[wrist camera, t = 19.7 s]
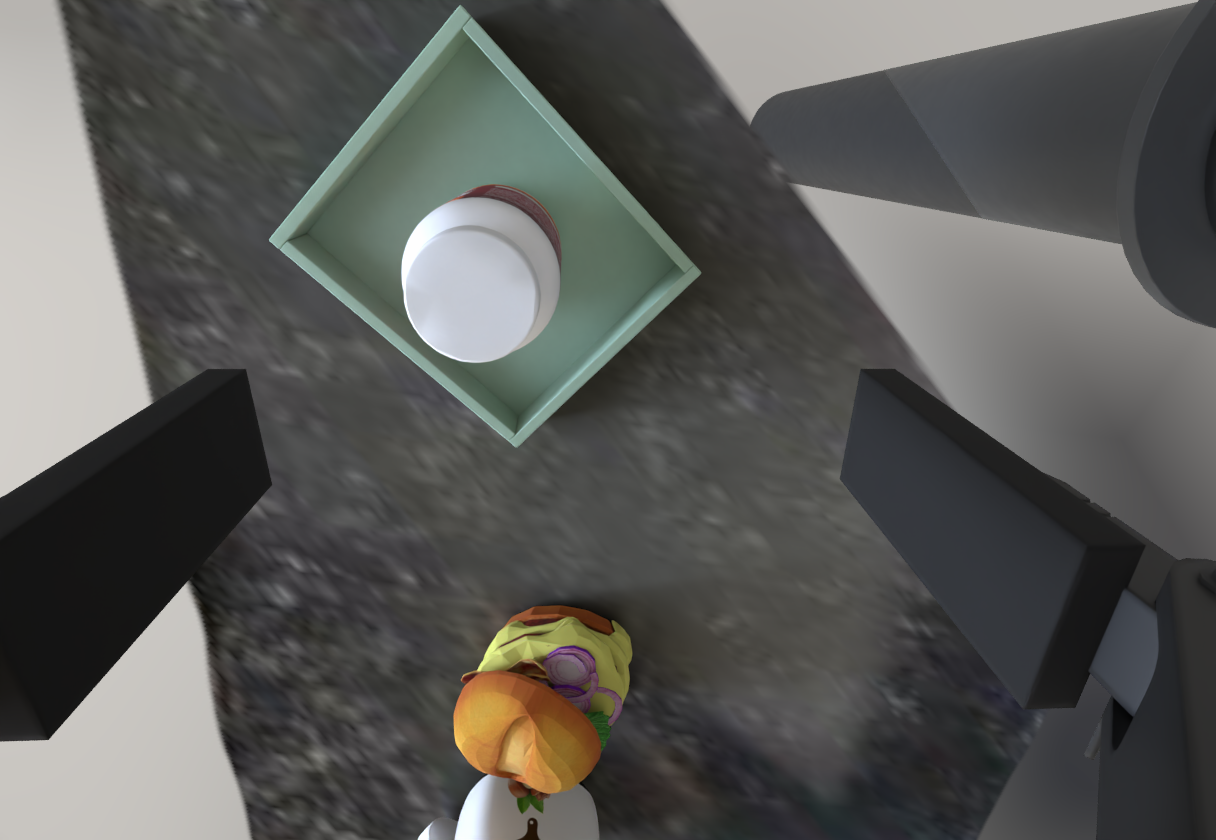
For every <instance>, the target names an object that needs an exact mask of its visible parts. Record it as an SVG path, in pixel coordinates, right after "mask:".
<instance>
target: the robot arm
mask: <svg viewBox="0 0 1216 840" xmlns="http://www.w3.org/2000/svg"><path fill="white" fill-rule="evenodd" d="M1204 185H1205V201H1206V208H1207V212H1208V216H1209V220H1210V222H1211V225H1212V227H1213V230H1214V232H1215V233H1216V129H1215V132H1214V135H1213V138H1212V141H1211V145H1210V149H1209V153H1208V157H1207V163H1206V170H1205V184H1204ZM840 480H841V481H842V482H843V484H844V485H845V486H846V487H847V489H848V490H849V491H850V492H851V494H852V495H853V496H854V497H855V499H856V500H857V501H858V502H859V504H860V505H861V506H862V507H863V509H864V510H865V511H866V512H867V514H868V515H869V516H870V517H871V519H872V520H873V521H874V522H875V524H876V525H877V526H878V527H879V529H880V530H881V531H882V533H883V534H884V535H885V536H886V538H887V539H888V540H889V541H890V543H891V544H892V545H893V546H894V548H895V549H896V550H897V551H898V553H899V554H900V555H901V556H902V558H903V559H904V560H905V561H906V563H907V564H908V565H909V566H910V568H911V569H912V570H913V571H914V573H915V574H916V575H917V576H918V578H919V579H920V580H921V581H922V583H923V584H924V585H925V586H926V588H927V589H928V590H929V592H930V593H931V594H932V595H933V597H934V598H935V599H936V600H937V602H938V603H939V604H940V605H941V607H942V608H943V609H944V610H945V612H946V613H947V614H948V615H949V617H950V618H951V619H952V620H953V622H954V623H955V624H956V625H957V627H958V628H959V629H960V630H961V632H962V633H963V634H964V635H965V637H966V638H967V639H968V640H969V642H970V643H971V644H972V646H973V647H974V648H975V649H976V651H977V652H978V653H979V654H980V656H981V657H982V658H983V659H984V661H985V662H986V663H987V664H988V666H989V667H990V668H991V669H992V671H993V672H994V673H995V674H996V676H997V677H998V678H999V679H1000V681H1001V682H1002V683H1003V684H1004V686H1005V687H1006V688H1007V689H1008V691H1009V692H1010V693H1011V694H1012V696H1013V697H1014V698H1015V700H1016V701H1017V702H1018V703H1019V705H1020V706H1021V707H1022V708H1023V709H1048V708H1075V707H1076V705H1077V703H1078V700H1079V698H1080V696H1081V693H1082V691H1083V689H1084V686H1085V684H1086V682H1087V679H1088V677H1089V675H1090V674H1091V675H1092V676H1093V677H1094V678H1095V679H1096V680H1097V681H1098V682H1099V683H1100V684H1101V685H1102V686H1103V687H1104V688H1105V689H1106V690H1107V691H1108V692H1109V693H1110V694H1111V698H1110V700H1109V702H1108V704H1107V706H1106V708H1105V711H1104V713H1103V715H1102V717H1101V719H1100V721H1099V724H1098V726H1097V728H1096V730H1095V732H1094V734H1093V737H1092V739H1091V741H1090V743H1089V745H1088V748H1087V750H1086V752H1085V754H1084V756H1085V757H1087V758H1090V759H1092V760H1094V758H1095V756H1096V755H1097V753H1098V751H1100V767H1099V790H1098V812H1097V835H1096V840H1216V561H1212V560H1208V559H1191V558H1186V559H1182V560H1177V559H1176V558H1174V557H1173V556H1171V555H1170V554H1168V553H1167V552H1165V551H1164V550H1163V549H1161V548H1160V547H1158V546H1157V545H1155V544H1154V543H1153V542H1151V541H1149V540H1148V539H1147V538H1145V537H1144V536H1142V535H1141V534H1139V533H1138V532H1136V531H1135V530H1134V529H1132V528H1131V527H1129V526H1128V525H1126V524H1125V523H1124V522H1122V521H1121V520H1119V519H1117V518H1116V517H1111V516H1110V513H1109V512H1107V511H1106V510H1105V509H1103V508H1102V507H1100V506H1099V505H1097V504H1096V503H1090V499H1089V498H1087V497H1085V496H1084V495H1083V494H1081V493H1080V492H1078V491H1077V490H1075V489H1074V488H1072V487H1071V486H1070V485H1068V484H1067V483H1065V482H1063V481H1061V480H1058V479H1056V478H1054V477H1052V476H1050V475H1047V474H1045V473H1043V472H1041V471H1039V470H1038V469H1036V468H1035V467H1034V466H1032V465H1030V464H1029V463H1028V462H1026V461H1025V460H1024V459H1022V458H1021V457H1019V456H1018V455H1016V454H1015V453H1014V452H1012V451H1011V450H1009V449H1008V448H1007V447H1005V446H1004V445H1002V444H1001V443H999V442H998V441H996V440H995V439H994V438H992V437H991V436H989V435H988V434H987V433H985V432H984V431H982V430H981V429H979V428H978V427H977V426H975V425H974V424H972V423H971V422H969V421H968V420H967V419H965V418H964V417H962V416H961V415H960V414H958V413H957V412H955V411H954V410H952V409H951V408H950V407H948V406H947V405H945V404H944V403H942V402H941V401H940V400H938V399H937V398H935V397H934V396H932V395H931V394H930V393H928V392H927V391H925V390H924V389H922V388H921V387H920V386H918V385H917V384H915V383H914V382H912V381H911V380H910V379H908V378H907V377H905V376H904V375H903V374H901V373H900V372H898V371H897V370H895V369H861V370H860V376H859V381H858V386H857V391H856V397H855V402H854V407H853V413H852V418H851V423H850V428H849V434H848V439H847V444H846V449H845V455H844V460H843V465H842V470H841V476H840ZM271 485H272V482H271V478H270V474H269V469H268V465H267V460H266V456H265V451H264V447H263V443H262V438H261V434H260V429H259V425H258V421H257V416H256V412H255V407H254V403H253V399H252V394H251V390H250V385H249V381H248V376H247V372H246V369H207V370H206V371H204V372H203V373H201V374H199V375H198V376H196V377H195V378H193V379H191V380H190V381H188V382H187V383H185V384H183V385H182V386H180V387H179V388H177V389H175V390H174V391H172V392H170V393H169V394H167V395H166V396H164V397H162V398H161V399H159V400H158V401H156V402H154V403H153V404H151V405H150V406H148V407H146V408H145V409H143V410H142V411H140V412H138V413H137V414H135V415H134V416H132V417H130V418H129V419H127V420H125V421H124V422H122V423H121V424H119V425H117V426H116V427H114V428H113V429H111V430H109V431H108V432H106V433H105V434H103V435H101V436H100V437H98V438H97V439H95V440H93V441H92V442H90V443H89V444H87V445H85V446H84V447H82V448H81V449H79V450H77V451H76V452H74V453H73V454H71V455H69V456H68V457H66V458H64V459H63V460H61V461H60V462H58V463H56V464H55V465H53V466H52V467H50V468H49V469H47V470H45V471H44V472H42V473H40V474H39V475H37V476H36V477H34V478H32V479H31V480H29V481H28V482H26V483H24V484H23V485H21V486H19V487H18V488H16V489H15V490H13V491H11V492H10V493H8V494H7V495H5V496H3V497H1V498H0V741H29V740H49V739H50V738H51V736H52V735H53V734H54V733H55V731H57V729H58V728H59V727H60V726H61V725H62V724H63V723H64V721H65V720H66V719H67V718H68V717H69V716H70V715H71V714H72V712H73V711H74V710H75V709H76V708H77V707H78V706H79V704H80V703H81V702H82V701H83V700H84V698H85V697H86V696H87V695H88V694H89V693H90V692H91V691H92V689H93V688H94V687H95V686H96V685H97V684H98V683H99V682H100V680H101V679H102V678H103V677H104V676H105V675H106V674H107V672H108V671H109V670H110V669H111V668H112V667H113V666H114V664H115V663H116V662H117V661H118V660H119V659H120V657H121V656H122V655H123V654H124V653H125V652H126V651H127V650H128V648H129V647H130V646H131V645H132V644H133V642H135V641H136V639H137V638H138V637H139V636H140V635H141V634H142V633H143V631H144V630H145V629H146V628H147V627H148V626H149V624H150V623H151V622H152V621H153V620H154V619H155V618H156V617H157V615H158V614H159V613H160V612H161V611H162V610H163V609H164V607H165V606H166V605H167V604H168V603H169V602H170V601H171V599H172V598H173V597H174V596H175V595H176V594H177V593H178V591H179V590H180V589H181V588H182V587H183V586H184V585H185V583H186V582H187V581H188V580H189V579H190V578H191V577H192V576H193V574H194V573H195V572H196V571H197V570H198V569H199V568H200V566H201V565H202V564H203V563H204V562H205V561H206V560H207V558H208V557H209V556H210V555H211V554H212V553H213V552H214V550H215V549H216V548H217V547H218V546H219V545H220V544H221V542H222V541H223V540H224V539H225V538H226V537H227V536H228V534H229V533H230V532H231V531H232V530H233V529H234V528H235V526H236V525H237V524H238V523H239V522H240V521H241V520H242V518H243V517H244V516H245V515H246V514H247V513H248V512H249V510H250V509H251V508H252V507H253V506H254V505H255V504H256V502H257V501H258V500H259V499H260V498H261V497H262V496H263V495H264V493H265V492H266V491H267V490H268V489H269V488H270V487H271Z"/></svg>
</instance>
